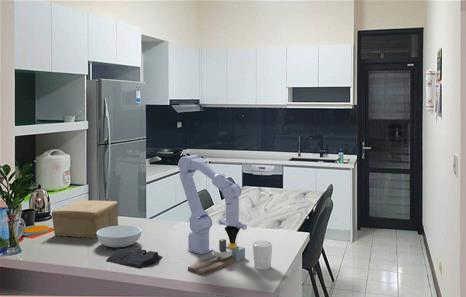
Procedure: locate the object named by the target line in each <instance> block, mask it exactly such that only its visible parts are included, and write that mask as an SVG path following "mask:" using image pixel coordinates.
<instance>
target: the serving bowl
mask: <svg viewBox="0 0 466 297" xmlns="http://www.w3.org/2000/svg"><path fill="white" fill-rule="evenodd" d="M96 234H97V238H96V239H97V240H98V241H99V243H100V244H101V245H103V246H106V247H110V248H117V249H121V248H126V247H129V246H131V245H133V244H135V243H137V242H138V241H139V239H140V238H141V236H142V229H141V227H138V226H135V225H129V224H128V225H123V224H122V225H121V224H118V226H110V227H106V228H102V229H100V230H98V231H97V233H96Z"/></svg>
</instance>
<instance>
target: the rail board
mask: <svg viewBox="0 0 466 297" xmlns="http://www.w3.org/2000/svg"><path fill="white" fill-rule="evenodd" d="M235 263H236V258H234V257H228V258H225V259H223V260H221V257H217V258H216V256H215V255H213V256H212V257H209V258H207V259H204V260H201V261H198V262H196V263H193V264H191V265H189V266H187V271H189V272H193V273H196V274H199V275H201V276H205V275H206V276H207V275H208V274H210V273H213V272H216V271H217V270H220V269H222V268H225V267H227V266H229V265H231V264H235Z"/></svg>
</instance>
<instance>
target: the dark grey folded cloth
mask: <svg viewBox="0 0 466 297" xmlns="http://www.w3.org/2000/svg"><path fill="white" fill-rule="evenodd" d="M161 259H163V257H162V255H160V254H159V253H158V251H152V250H149V251H147V250H146V249H142V248H135V249H134V250H131V249H127V248H118V249H117V250H116V251H114V252H113V253H112V254H111V255H110V256H109V257H107V258H106V259H105V262H107V263H111V264H117V265H121V266H126V267H131V268H136V269H143V268H144V269H145V268H148V267H149V266H153V265H154V264H157V263H158V262H159V261H160V260H161Z"/></svg>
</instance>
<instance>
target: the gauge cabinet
mask: <svg viewBox="0 0 466 297" xmlns="http://www.w3.org/2000/svg"><path fill="white" fill-rule="evenodd" d="M226 249H228V250H232V249H229V248H228V244H226ZM230 257H234V258H236V261H237V262H239V261H241V260H244V259H245V258H246V248H245V247H244V246H239V245H237V249H234V250H232V255H231V256H230ZM243 258H244V259H243ZM238 260H239V261H238Z"/></svg>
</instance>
